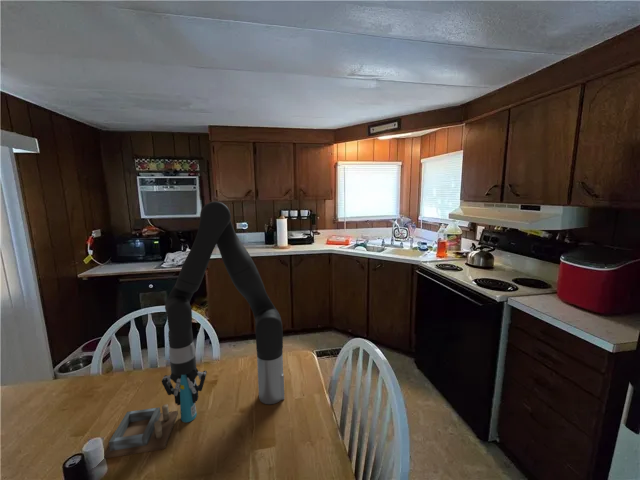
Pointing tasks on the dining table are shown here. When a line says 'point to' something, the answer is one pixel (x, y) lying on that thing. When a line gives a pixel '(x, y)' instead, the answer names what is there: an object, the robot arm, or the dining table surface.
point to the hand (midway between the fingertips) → (187, 402)
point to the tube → (186, 401)
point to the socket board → (142, 432)
